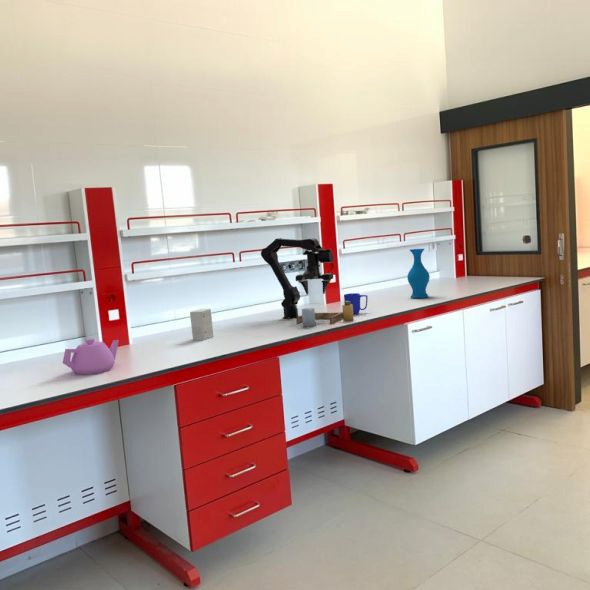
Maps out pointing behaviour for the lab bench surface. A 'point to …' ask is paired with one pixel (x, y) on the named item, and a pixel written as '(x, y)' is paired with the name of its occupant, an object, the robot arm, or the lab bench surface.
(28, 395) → the lab bench surface
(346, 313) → the reagent bottle
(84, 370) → the teapot
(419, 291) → the vase
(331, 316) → the cradle
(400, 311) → the lab bench surface
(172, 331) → the lab bench surface
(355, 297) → the mug
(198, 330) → the small box
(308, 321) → the pale blue canister
